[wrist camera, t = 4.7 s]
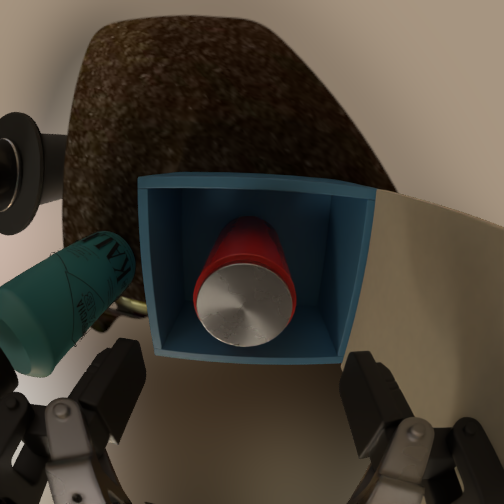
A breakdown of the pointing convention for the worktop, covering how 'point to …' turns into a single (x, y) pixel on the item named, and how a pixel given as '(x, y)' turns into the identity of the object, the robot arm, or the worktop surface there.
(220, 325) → the can
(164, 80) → the worktop surface
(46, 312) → the beverage bottle
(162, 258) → the cool box
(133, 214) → the worktop surface
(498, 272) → the lid
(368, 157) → the worktop surface
